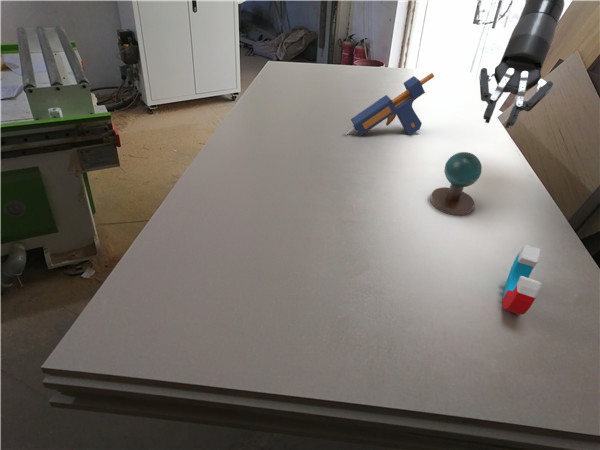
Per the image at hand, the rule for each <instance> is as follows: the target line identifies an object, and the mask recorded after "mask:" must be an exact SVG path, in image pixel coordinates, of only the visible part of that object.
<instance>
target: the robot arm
mask: <svg viewBox="0 0 600 450" xmlns="http://www.w3.org/2000/svg"><path fill="white" fill-rule="evenodd" d="M564 8H565V0H525V3H524V6H523V9H522V11H521V14H520V16H519V18H518V21H517V23H516V24H515V27H514V28H513V30H512V32H511V35H510V37H509V39H508V42H507V45H506V47H505V49H504V52H503V55H502V57H501V59H500V62H499V63H498V65H496V66H495V68H493V69H488V68H486V67H483V68H481V69H480V72H479V91H480V93H479V94H480V101H482V102H485V103H486V104H487V105H486V108H485V111H484V113H483V120H485V121H484V123H485V124H490V121H491V119H492V116H493V113H494V112H495V109H496V106H497V103H498V101H499V100H500V98H501V97H502V95H503V94H504V93H510V94H512V95H514V105H513V106H512V109H511V110H510V114H509V115H508V119H507V121H506V124H505V126H504V128H506V129H509V128H510V127H513V126H514V125H515V124H516V122H517V119H518V117H519V114H520V112H522V111H523V112H524V111H525V112H531V111H532V110H533V109H534V108H535V107H536V105H538V103H539V102H541V101H542V100H543V98H545V97H546V96H547V95H548V94H549V93H550V91H551V89H552V88H553V85H554V83H553V81H551V80H548V81H546V80H544V79H543V78H542V72H541V71H542V69H543V66H544V64H545V61H546V59H547V56H548V54H549V51H550V49H551V47H552V44H553V41H554V38H555V34H556V29H557V27H558V25H559V21H560V19H561V17H562V15H563V12H564ZM492 77H494V80H495V83H496V85H497V86H496V87H495V90H494V91H493V92H492V93H491V92H490V87H489V83H490V81H491V80H492ZM535 86H536V89H535V91H536V92H535V93H534V94H533V95H532V96H531V97H530V98H529V99H528V100H525V95H526V92H527V91H529V90H530V89H532V88H533V87H535Z"/></svg>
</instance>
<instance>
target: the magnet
mask: <svg viewBox="0 0 600 450" xmlns="http://www.w3.org/2000/svg"><path fill="white" fill-rule="evenodd" d="M541 251H542V250H541V248H539V247H535V246H531V245H528V244H524V245H523V246H522V247H521V248H520V250H519V251H518V253H517V255H516V257H515V259H514V260H513V263H512V265H511V267H510V270H509V273H508V276H507V278H506V282H505V286H504V289H503V294H502V308H503V309H504V310H505V311H508V312H510V313H514V314H516V315H524V314H526V313H527V312H528V311H529V309H530V308H531V307H532V305H533V303H534V302H535V301H536V298H537V296H538V294H539V292H540V290H541V287H542V283H541V282H540V281H538V280H537V279H533V278H530V275H531V274H532V271H533V269H534V268H535V267H536V265H537V264H538V262H539V259H540V254H541Z"/></svg>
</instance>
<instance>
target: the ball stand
mask: <svg viewBox="0 0 600 450" xmlns="http://www.w3.org/2000/svg"><path fill="white" fill-rule="evenodd" d="M443 171H444V176H445V178H446V180H447V182H449V183H450V185H449V187H445V186H444V187H438V188H436V189H434V190H433V191H432V193H431V195H430V198H429V199H430V203H431V205H432V206H433V207H434V208H435V209H436V210H438V211H440V212H441V213H444V214H447V215H451V216H466V215H468V214H470V213H472V211H473V208H474V207H475V200H474V198H473V197H472V196H471V195H469V193H467V192H465V191H463V190H464V188H467V187H470V186H472V185H474V184H475V183H476V182H477V181H478V180H479V179H480V178H481V175H482V171H483V166H482V162H481V160H480V159H479V157H477V156H476V155H475V154H473V153H472V152H467V151H461V152H457V153H455V154H453V155H451V156H450V157H449V158H448V160H446V162H445V165H444V170H443Z"/></svg>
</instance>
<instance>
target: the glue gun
mask: <svg viewBox="0 0 600 450" xmlns="http://www.w3.org/2000/svg"><path fill="white" fill-rule="evenodd" d="M433 78H435V75H434V73H433V72H430V73H429V74H428V75H427V76H425V77H423V78H422V79H419V78H417V77H416V76H415V75H413V76H411V77H410V78H408V79H407V80H406V81H404V82H403V86H404V88H405V89H406V90H404V91H403V92H402V93H401V94H399V95H397V96H396V97H394V98H393V99H391V98H390V96H388V95H387V94H385V95H383V96H382V97H381V98H379V99H377V101H375V102H374V103H372V104H371V105H369V106H368V107H366V108H365V109H363V110H362V111H360V112H359V113H357V114H356V115H355V116H352V117H351V119H350V121H351V123H352V127H351V128H350V129H349V130H348V131H347V132H346V133H345V135H349V134H350V133H353V132H355V131H356V132H358V134H359V135H360V136H362V135H364V134H366V133H367V132H368V131H370V130H371V129H373V128H374V127H376V126H377V125H379V124H381V123H382V122H383V121H386V123H385V125H386V126H387V127H388V126H389V125H390V124H391V123H392V122H393V121H394V120H395V118H396V117H397V119H398V121H399V123H400V125H401V126H402V129H403V130H404V131H405V132H406V133H407V134H408V135H409V136H412V135H413V134H415V133H416V132H418V131H420V130H421V127H422V124H423V123H422V121H421V120H420V118H419V117H418V116H419V115H417V113H416V111H415V110H414V108H413V103H414V102H415V101H416V100H417V99H419V97H421V96H422V95H424V94H425V93H426V91H425V88H424V87H423V85H424V84H426V83H427V82H429V81H431V80H432V79H433Z"/></svg>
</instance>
